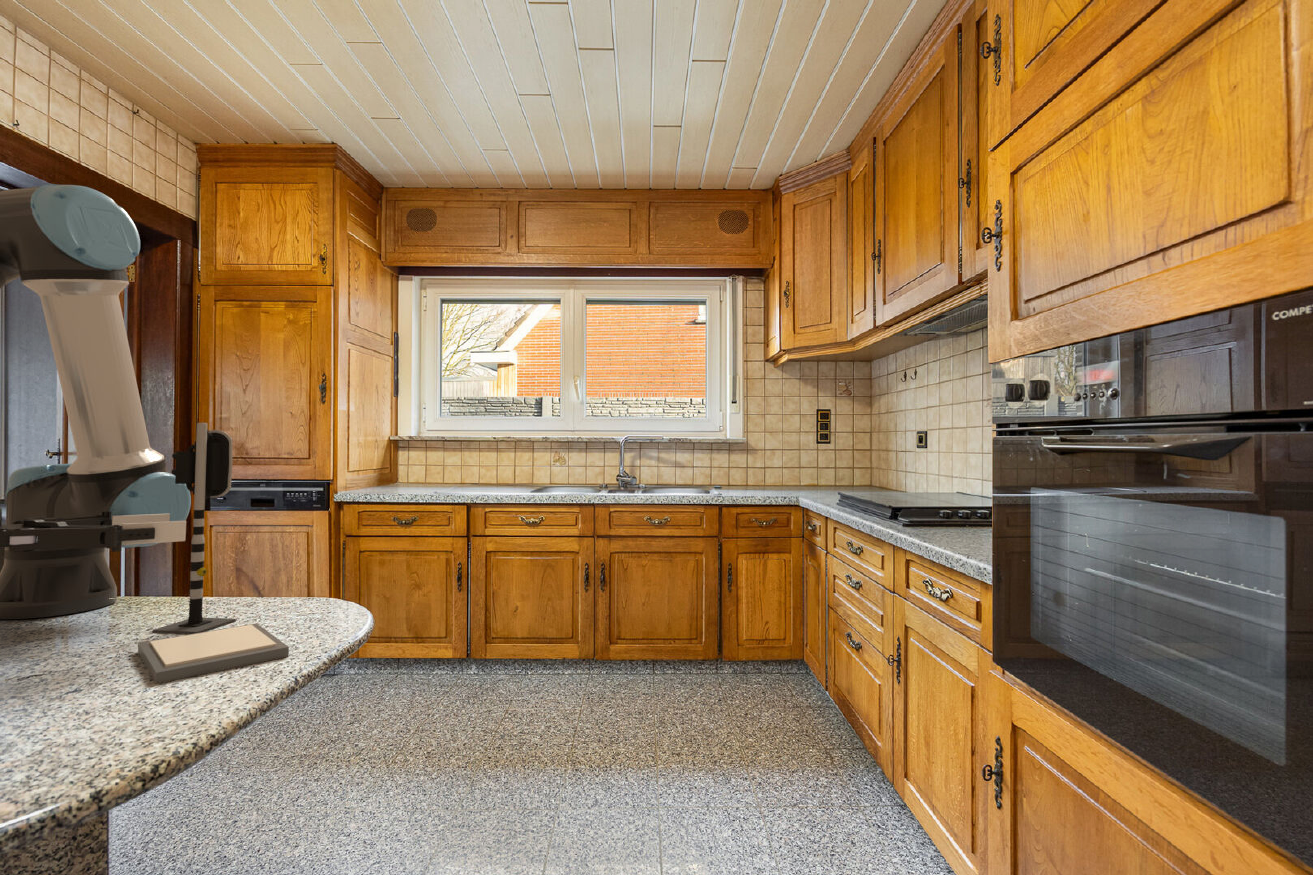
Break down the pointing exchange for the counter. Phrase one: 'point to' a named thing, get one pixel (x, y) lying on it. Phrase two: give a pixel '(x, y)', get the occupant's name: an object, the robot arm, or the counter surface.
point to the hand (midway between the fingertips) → (177, 526)
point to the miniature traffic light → (202, 514)
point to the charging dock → (209, 652)
